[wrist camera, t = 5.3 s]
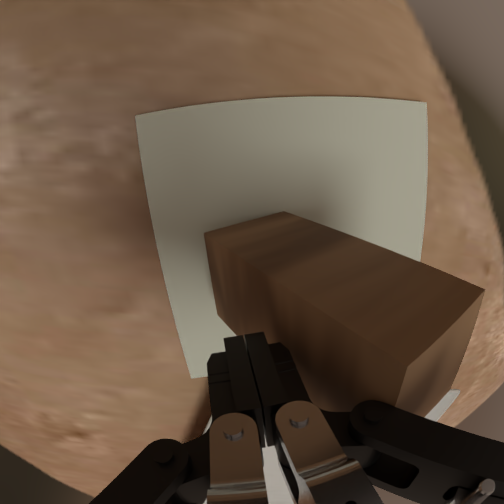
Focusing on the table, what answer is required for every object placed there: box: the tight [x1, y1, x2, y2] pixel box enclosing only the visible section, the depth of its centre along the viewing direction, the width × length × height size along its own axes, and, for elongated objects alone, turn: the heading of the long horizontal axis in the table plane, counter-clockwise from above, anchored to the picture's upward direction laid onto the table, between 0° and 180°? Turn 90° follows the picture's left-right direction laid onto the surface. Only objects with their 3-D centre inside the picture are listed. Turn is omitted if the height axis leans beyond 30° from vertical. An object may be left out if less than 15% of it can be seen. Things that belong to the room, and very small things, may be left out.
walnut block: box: [204, 211, 485, 417], centre depth 13 cm, size 5×5×12 cm
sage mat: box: [135, 96, 428, 379], centre depth 20 cm, size 18×18×1 cm
